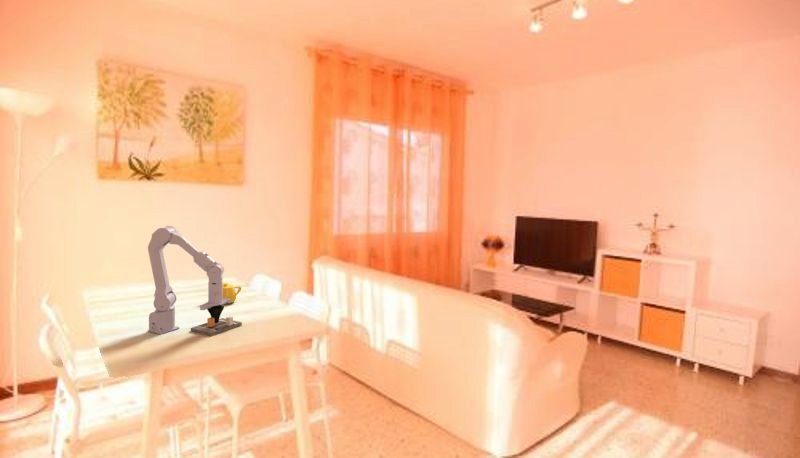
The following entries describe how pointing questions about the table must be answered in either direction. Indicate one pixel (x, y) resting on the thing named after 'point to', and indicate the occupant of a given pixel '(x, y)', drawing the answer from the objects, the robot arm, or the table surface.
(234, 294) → the teapot
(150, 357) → the table surface
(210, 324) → the breaker
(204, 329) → the panel
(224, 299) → the robot arm
